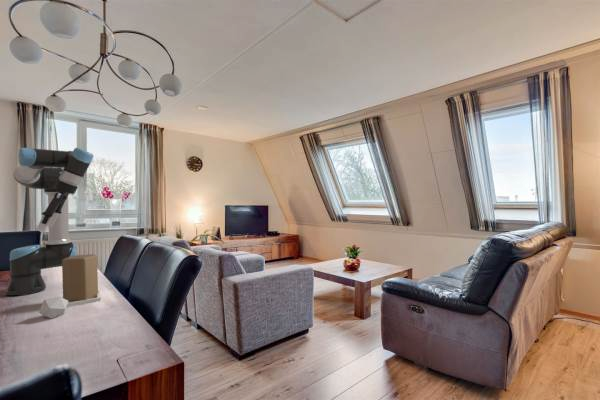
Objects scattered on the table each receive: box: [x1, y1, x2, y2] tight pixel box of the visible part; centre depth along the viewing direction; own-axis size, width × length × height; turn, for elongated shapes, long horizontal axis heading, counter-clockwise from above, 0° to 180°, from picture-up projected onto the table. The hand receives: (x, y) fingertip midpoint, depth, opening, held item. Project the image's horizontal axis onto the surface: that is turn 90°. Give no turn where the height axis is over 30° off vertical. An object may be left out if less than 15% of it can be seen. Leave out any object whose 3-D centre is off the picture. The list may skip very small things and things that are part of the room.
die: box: [38, 294, 68, 320], centre depth 119 cm, size 8×9×10 cm
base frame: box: [61, 290, 102, 308], centre depth 138 cm, size 14×14×2 cm
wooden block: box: [61, 253, 99, 303], centre depth 138 cm, size 10×10×20 cm
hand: (43, 228), depth 127 cm, fingers open, 13 cm apart
